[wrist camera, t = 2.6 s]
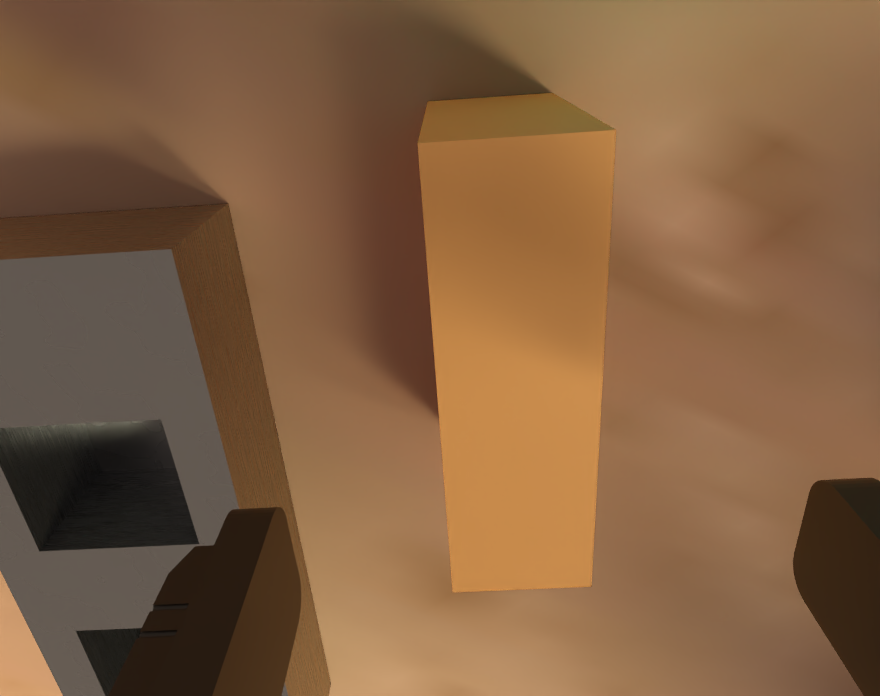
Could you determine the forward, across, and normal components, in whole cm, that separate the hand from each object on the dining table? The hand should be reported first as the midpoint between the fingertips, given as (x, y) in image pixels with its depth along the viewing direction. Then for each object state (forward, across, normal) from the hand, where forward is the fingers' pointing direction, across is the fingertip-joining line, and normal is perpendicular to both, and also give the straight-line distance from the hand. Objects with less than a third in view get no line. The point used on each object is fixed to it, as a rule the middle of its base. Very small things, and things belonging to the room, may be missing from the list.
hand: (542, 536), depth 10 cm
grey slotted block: (+12, +12, +8) cm, 19 cm away
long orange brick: (+12, 0, 0) cm, 12 cm away
